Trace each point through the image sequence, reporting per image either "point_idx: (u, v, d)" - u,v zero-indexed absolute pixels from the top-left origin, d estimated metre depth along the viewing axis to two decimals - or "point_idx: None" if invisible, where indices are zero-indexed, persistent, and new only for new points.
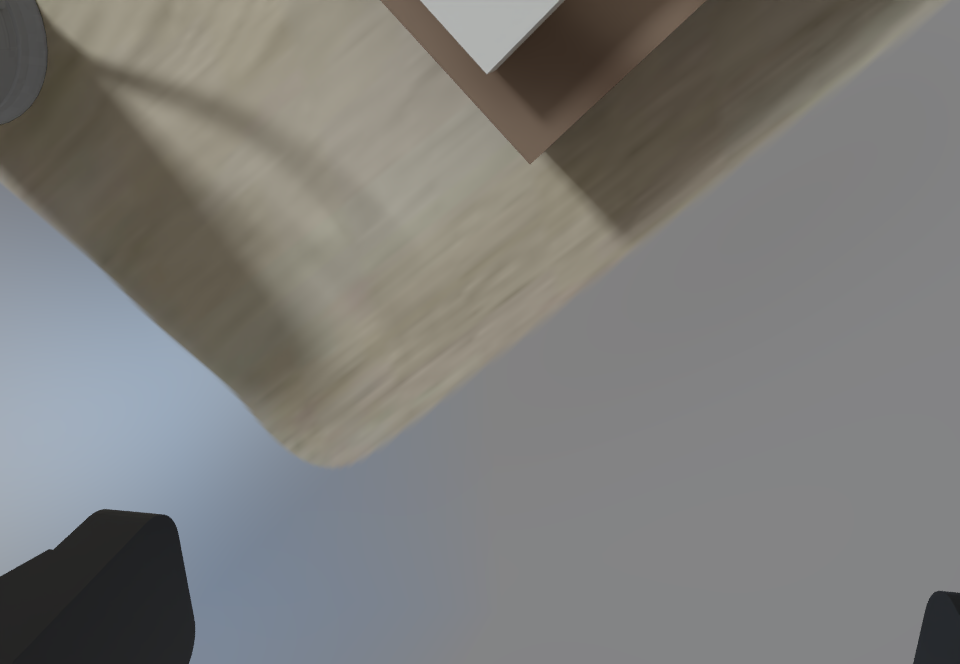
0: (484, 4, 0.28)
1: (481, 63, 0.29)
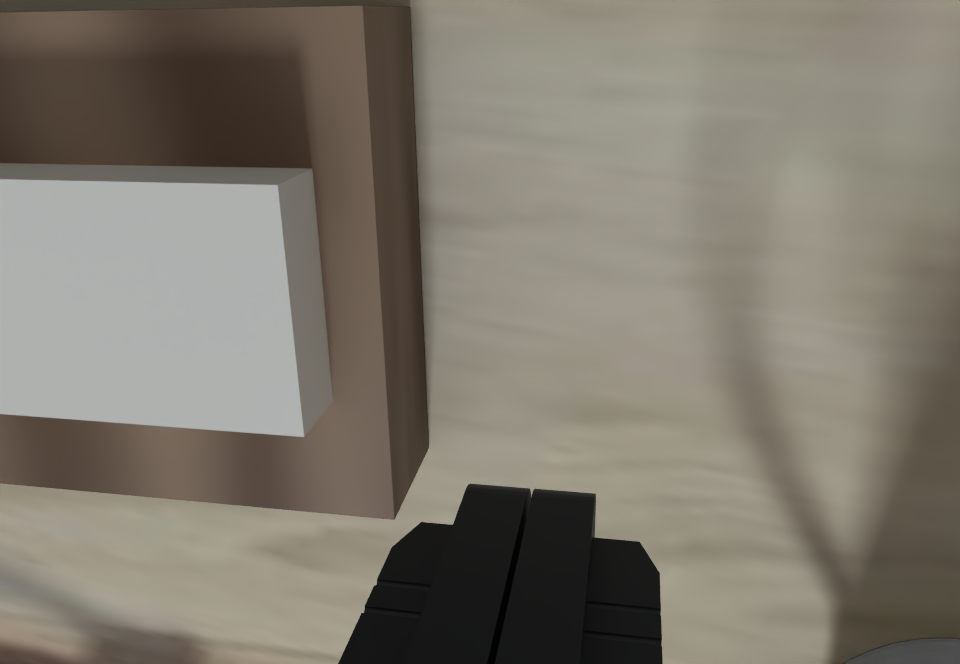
0: (219, 261, 0.18)
1: (275, 203, 0.17)
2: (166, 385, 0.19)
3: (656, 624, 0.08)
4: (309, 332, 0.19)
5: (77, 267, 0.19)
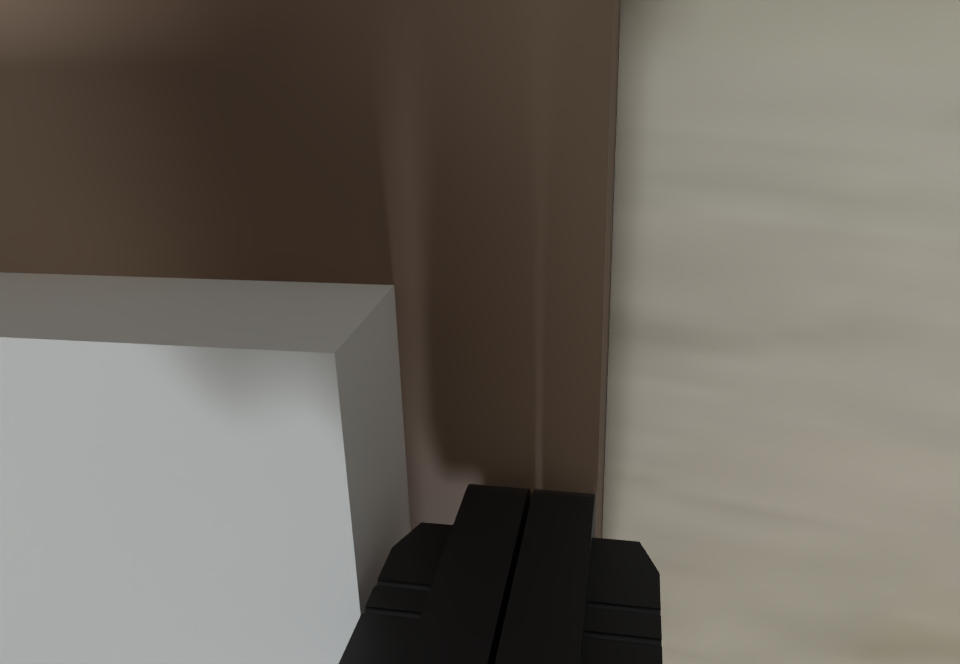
0: (206, 501, 0.08)
1: (328, 390, 0.08)
2: None
3: (656, 624, 0.08)
4: None
5: None
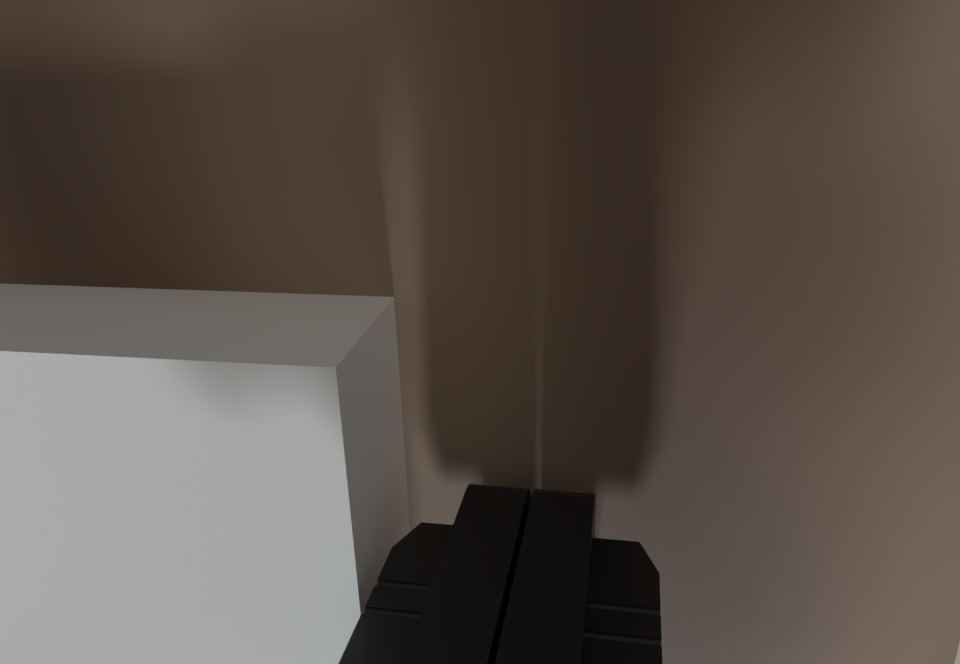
0: (208, 514, 0.08)
1: (329, 403, 0.08)
2: None
3: (656, 624, 0.08)
4: None
5: None
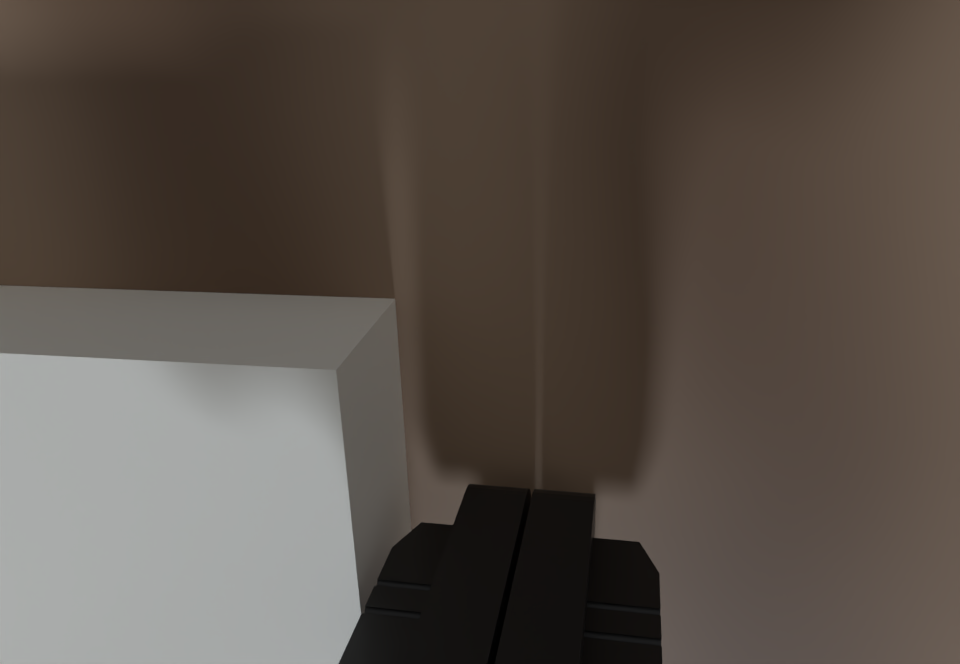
0: (208, 515, 0.08)
1: (330, 406, 0.08)
2: None
3: (656, 624, 0.08)
4: None
5: None
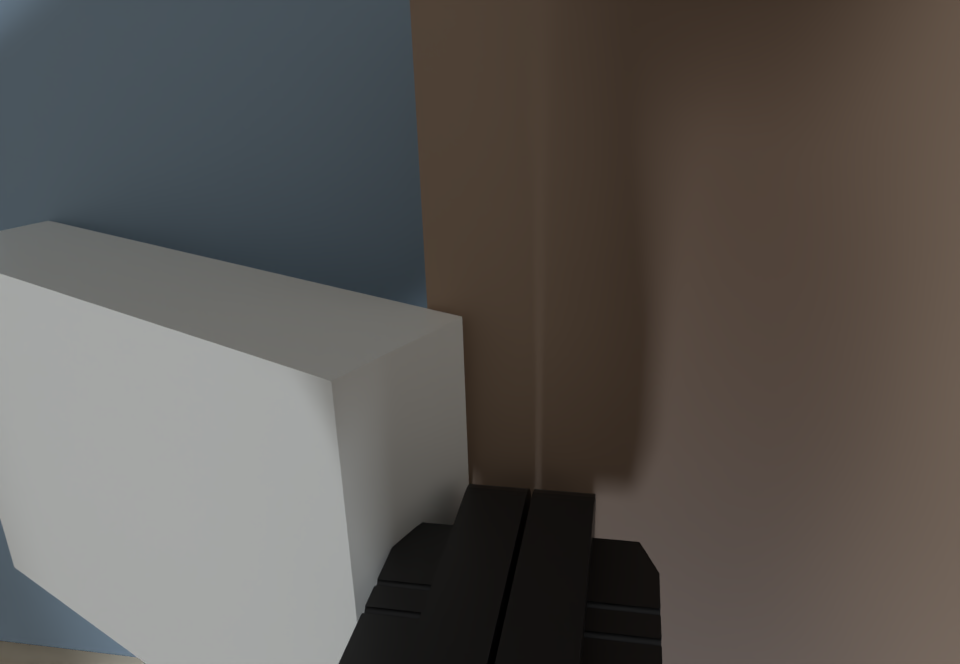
0: (248, 491, 0.09)
1: (329, 415, 0.08)
2: (193, 646, 0.11)
3: (656, 624, 0.08)
4: None
5: (83, 429, 0.11)
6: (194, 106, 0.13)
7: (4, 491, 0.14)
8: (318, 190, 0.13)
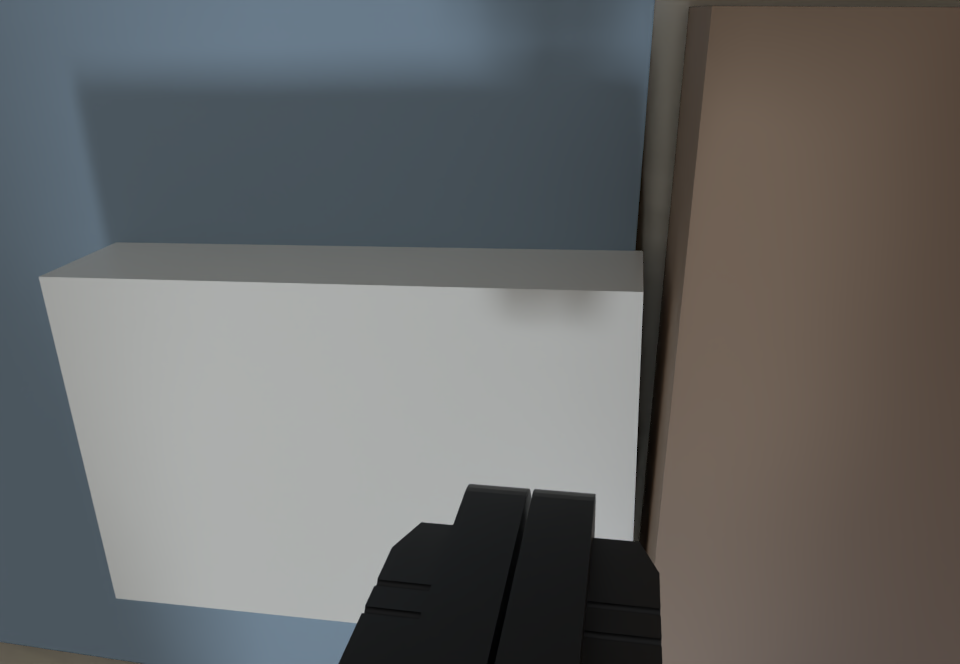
0: (527, 404, 0.12)
1: (633, 318, 0.11)
2: None
3: (655, 624, 0.08)
4: None
5: (295, 408, 0.12)
6: (375, 135, 0.13)
7: (123, 514, 0.14)
8: (496, 224, 0.13)
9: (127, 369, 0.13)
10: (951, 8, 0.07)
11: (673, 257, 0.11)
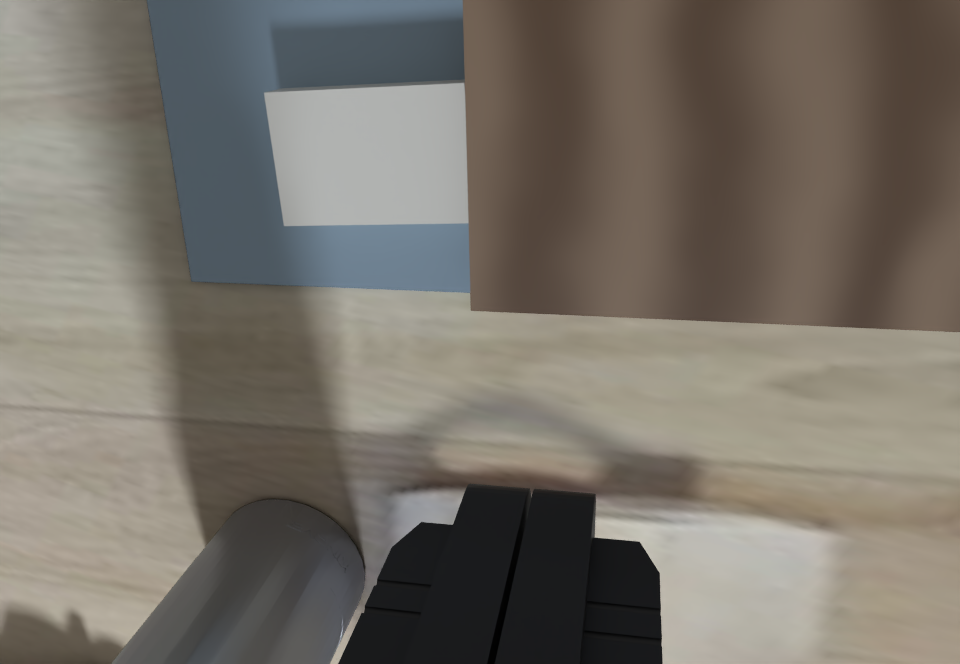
0: (431, 126, 0.35)
1: (462, 92, 0.34)
2: (398, 200, 0.36)
3: (656, 624, 0.08)
4: None
5: (353, 136, 0.36)
6: (378, 41, 0.36)
7: (289, 187, 0.37)
8: (422, 72, 0.36)
9: (294, 125, 0.36)
10: None
11: None
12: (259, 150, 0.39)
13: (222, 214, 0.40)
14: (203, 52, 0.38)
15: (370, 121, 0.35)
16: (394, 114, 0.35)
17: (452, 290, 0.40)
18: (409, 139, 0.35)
